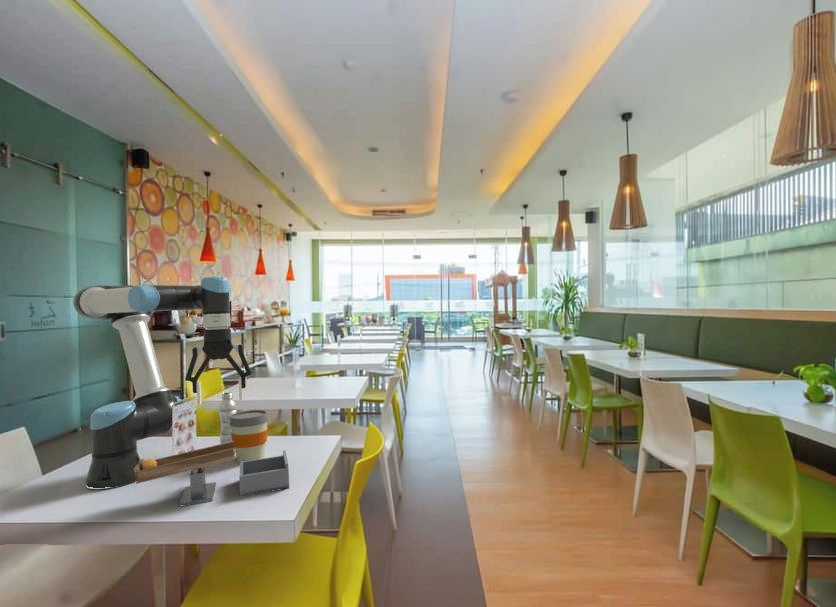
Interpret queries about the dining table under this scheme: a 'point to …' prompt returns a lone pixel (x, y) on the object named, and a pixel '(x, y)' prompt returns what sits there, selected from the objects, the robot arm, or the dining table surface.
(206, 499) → the stand
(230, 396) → the plastic bottle
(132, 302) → the robot arm
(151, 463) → the ball
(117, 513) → the dining table surface
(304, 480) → the dining table surface
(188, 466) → the chute
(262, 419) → the reusable coffee cup
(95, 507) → the dining table surface
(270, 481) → the grey tray
